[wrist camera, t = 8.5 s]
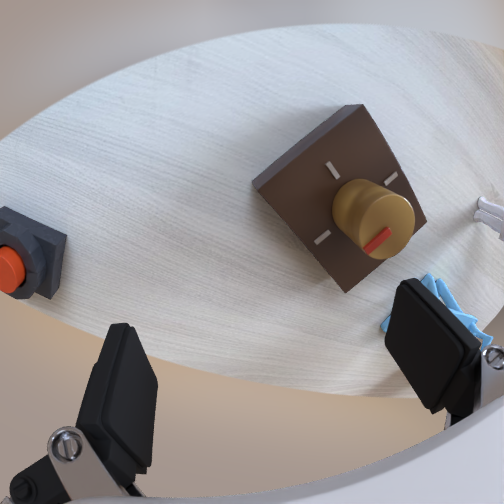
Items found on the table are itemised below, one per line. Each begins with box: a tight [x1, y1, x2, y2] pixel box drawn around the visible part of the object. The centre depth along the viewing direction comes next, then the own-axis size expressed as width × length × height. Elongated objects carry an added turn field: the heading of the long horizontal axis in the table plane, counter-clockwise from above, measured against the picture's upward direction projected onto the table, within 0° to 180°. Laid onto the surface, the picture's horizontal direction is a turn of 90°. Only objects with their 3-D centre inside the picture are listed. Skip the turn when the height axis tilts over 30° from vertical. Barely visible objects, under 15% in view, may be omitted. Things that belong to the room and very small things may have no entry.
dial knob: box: [332, 179, 415, 259], centre depth 19 cm, size 4×4×5 cm
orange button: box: [0, 246, 26, 293], centre depth 17 cm, size 4×4×2 cm
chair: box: [381, 274, 493, 352], centre depth 25 cm, size 8×8×12 cm
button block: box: [0, 206, 67, 299], centre depth 20 cm, size 8×6×4 cm
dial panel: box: [252, 104, 427, 293], centre depth 22 cm, size 12×10×3 cm
